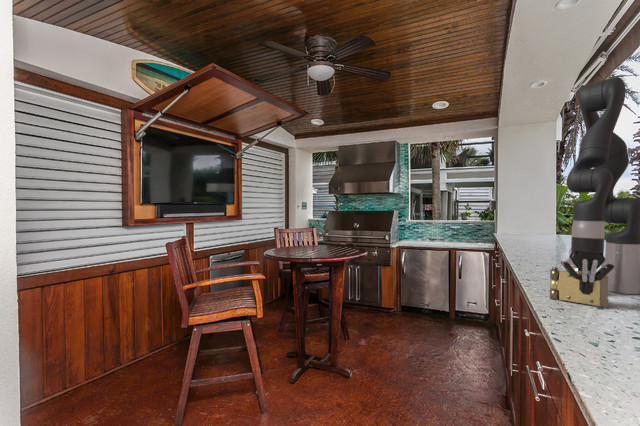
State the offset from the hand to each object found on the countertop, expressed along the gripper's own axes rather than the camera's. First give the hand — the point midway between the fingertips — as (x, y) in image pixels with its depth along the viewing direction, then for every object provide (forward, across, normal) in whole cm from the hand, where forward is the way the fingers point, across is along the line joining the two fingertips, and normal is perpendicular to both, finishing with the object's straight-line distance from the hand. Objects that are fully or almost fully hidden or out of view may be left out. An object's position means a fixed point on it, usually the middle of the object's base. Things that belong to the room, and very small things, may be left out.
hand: (585, 293), depth 97 cm
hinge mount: (+4, -1, -7) cm, 8 cm away
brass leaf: (+4, +1, -5) cm, 6 cm away
